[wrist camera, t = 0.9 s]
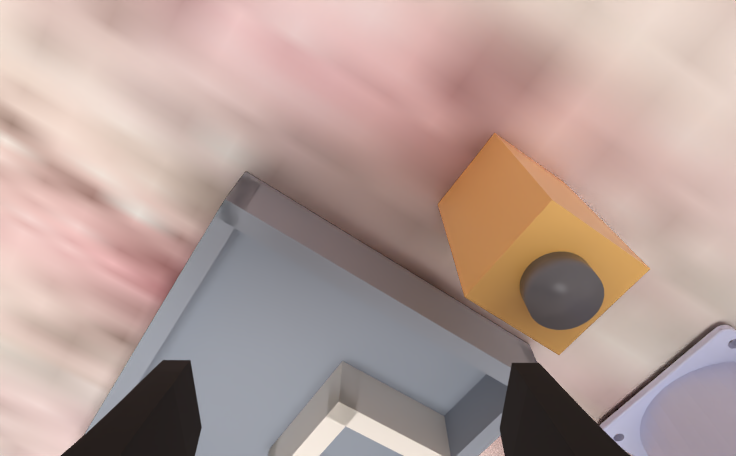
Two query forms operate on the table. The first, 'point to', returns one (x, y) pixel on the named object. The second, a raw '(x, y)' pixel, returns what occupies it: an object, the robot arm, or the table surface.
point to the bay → (321, 343)
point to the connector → (533, 247)
